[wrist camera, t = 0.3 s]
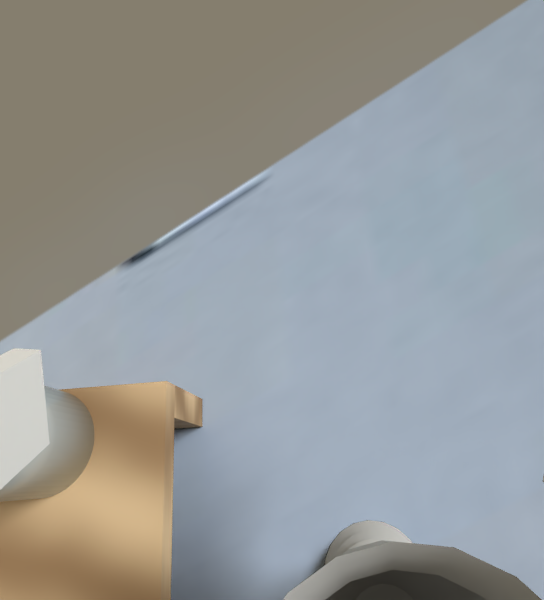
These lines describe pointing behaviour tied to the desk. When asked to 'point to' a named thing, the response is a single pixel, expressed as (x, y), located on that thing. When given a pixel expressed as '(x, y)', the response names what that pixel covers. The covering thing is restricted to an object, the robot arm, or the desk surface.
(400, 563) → the chalice
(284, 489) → the desk surface
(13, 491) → the white glossy rounded part
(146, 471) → the shelf
